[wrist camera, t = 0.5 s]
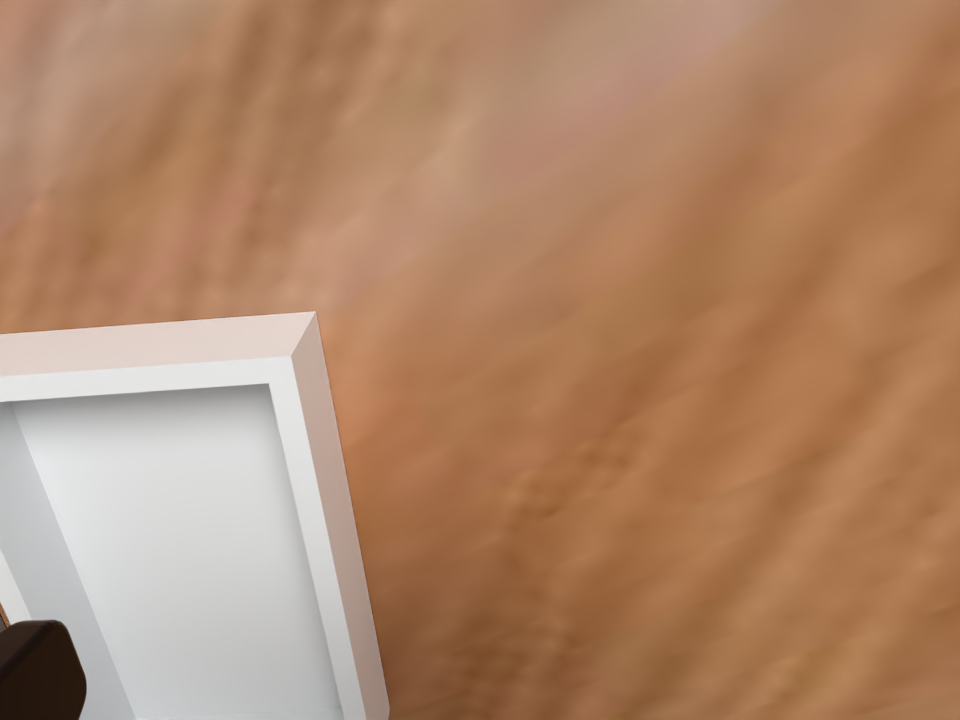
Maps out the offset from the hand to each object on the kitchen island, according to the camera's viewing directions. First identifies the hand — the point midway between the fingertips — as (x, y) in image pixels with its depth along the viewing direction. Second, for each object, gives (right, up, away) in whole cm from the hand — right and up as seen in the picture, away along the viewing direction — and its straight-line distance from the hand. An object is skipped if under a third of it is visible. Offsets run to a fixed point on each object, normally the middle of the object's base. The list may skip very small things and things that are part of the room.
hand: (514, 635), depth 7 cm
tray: (-9, -3, +17) cm, 20 cm away
